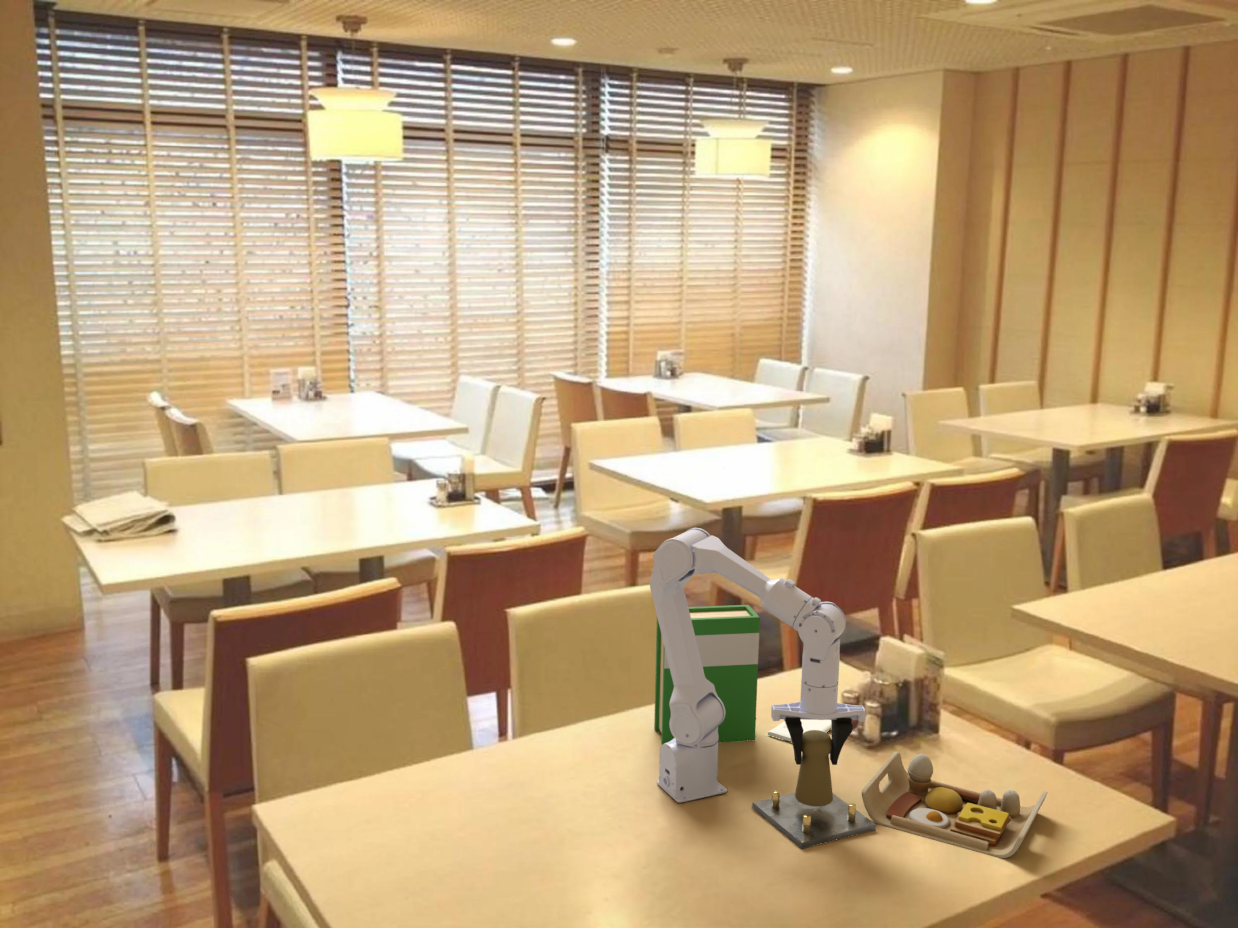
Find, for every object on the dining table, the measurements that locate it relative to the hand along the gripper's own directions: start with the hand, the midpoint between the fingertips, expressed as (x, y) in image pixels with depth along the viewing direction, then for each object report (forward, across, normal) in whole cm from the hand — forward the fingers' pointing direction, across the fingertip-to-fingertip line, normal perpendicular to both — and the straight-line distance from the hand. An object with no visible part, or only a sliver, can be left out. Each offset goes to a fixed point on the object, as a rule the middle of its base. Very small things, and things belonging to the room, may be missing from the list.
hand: (815, 761), depth 178 cm
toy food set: (+10, -23, -1) cm, 25 cm away
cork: (+7, 0, -1) cm, 7 cm away
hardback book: (+10, +15, -32) cm, 36 cm away
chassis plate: (+10, 0, 0) cm, 10 cm away
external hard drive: (+11, -4, -34) cm, 36 cm away
